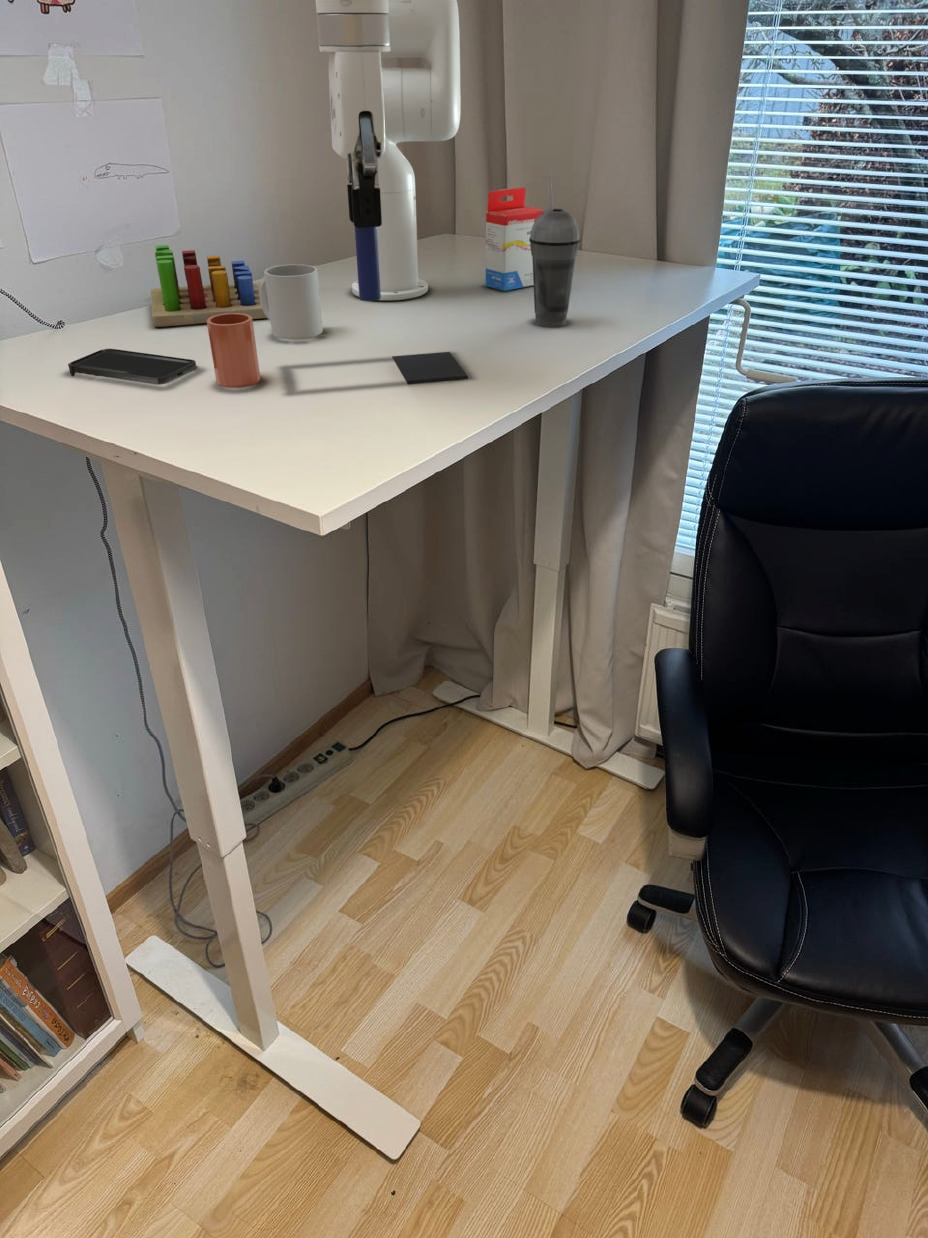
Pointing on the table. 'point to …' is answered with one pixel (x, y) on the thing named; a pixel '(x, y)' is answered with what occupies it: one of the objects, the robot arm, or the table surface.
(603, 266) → the table surface
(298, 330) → the cup
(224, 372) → the tumbler
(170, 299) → the peg board
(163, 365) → the phone
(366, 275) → the marker
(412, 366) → the desk mat
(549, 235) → the beverage cup
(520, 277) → the ink box
